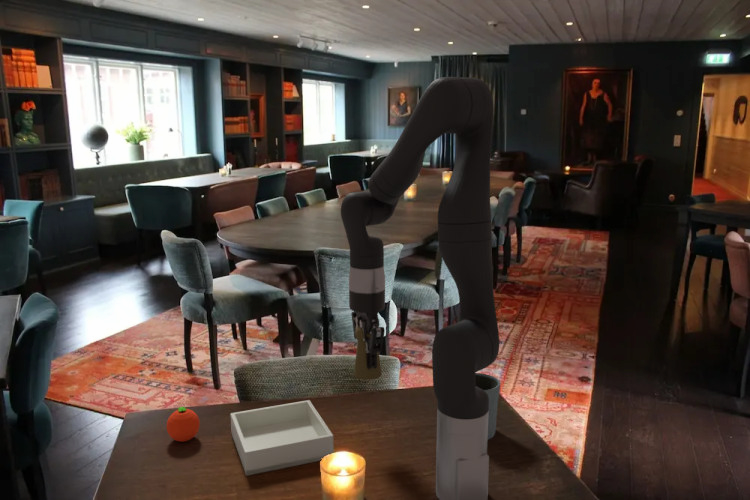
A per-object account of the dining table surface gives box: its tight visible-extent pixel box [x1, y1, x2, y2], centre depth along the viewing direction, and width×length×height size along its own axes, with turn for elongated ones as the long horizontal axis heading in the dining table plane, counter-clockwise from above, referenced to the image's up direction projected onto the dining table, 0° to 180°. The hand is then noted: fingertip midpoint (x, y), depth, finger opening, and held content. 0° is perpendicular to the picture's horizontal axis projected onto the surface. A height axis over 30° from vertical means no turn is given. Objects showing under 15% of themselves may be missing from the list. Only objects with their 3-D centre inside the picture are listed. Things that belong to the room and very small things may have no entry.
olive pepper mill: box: [353, 326, 382, 381], centre depth 134 cm, size 6×6×11 cm
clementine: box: [166, 406, 201, 442], centre depth 137 cm, size 8×7×7 cm
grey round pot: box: [475, 372, 501, 441], centre depth 139 cm, size 10×10×12 cm
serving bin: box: [230, 399, 335, 477], centre depth 134 cm, size 18×18×5 cm
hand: (367, 364), depth 134 cm, fingers closed on olive pepper mill, 4 cm apart
